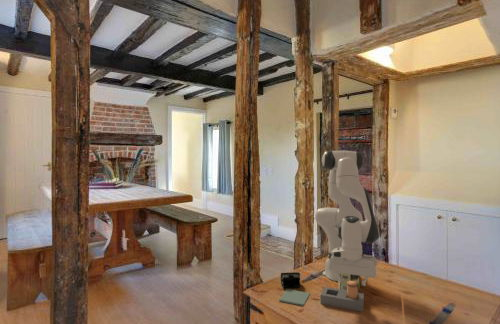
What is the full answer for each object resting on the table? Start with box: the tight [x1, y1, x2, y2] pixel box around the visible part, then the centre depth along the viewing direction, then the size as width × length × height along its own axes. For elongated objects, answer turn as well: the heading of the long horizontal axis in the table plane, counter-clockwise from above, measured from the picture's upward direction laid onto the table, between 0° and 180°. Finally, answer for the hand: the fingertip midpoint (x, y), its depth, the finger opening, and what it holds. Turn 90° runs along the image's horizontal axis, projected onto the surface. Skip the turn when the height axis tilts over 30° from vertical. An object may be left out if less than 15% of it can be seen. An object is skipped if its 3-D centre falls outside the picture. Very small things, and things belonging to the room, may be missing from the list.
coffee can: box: [337, 273, 360, 293], centre depth 146 cm, size 10×10×14 cm
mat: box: [278, 289, 311, 307], centre depth 141 cm, size 12×12×1 cm
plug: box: [347, 281, 358, 299], centre depth 131 cm, size 4×4×10 cm
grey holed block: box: [319, 286, 365, 313], centre depth 133 cm, size 9×18×5 cm, turn 64°
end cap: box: [280, 271, 302, 290], centre depth 154 cm, size 10×7×7 cm
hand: (352, 283), depth 130 cm, fingers open, 8 cm apart
